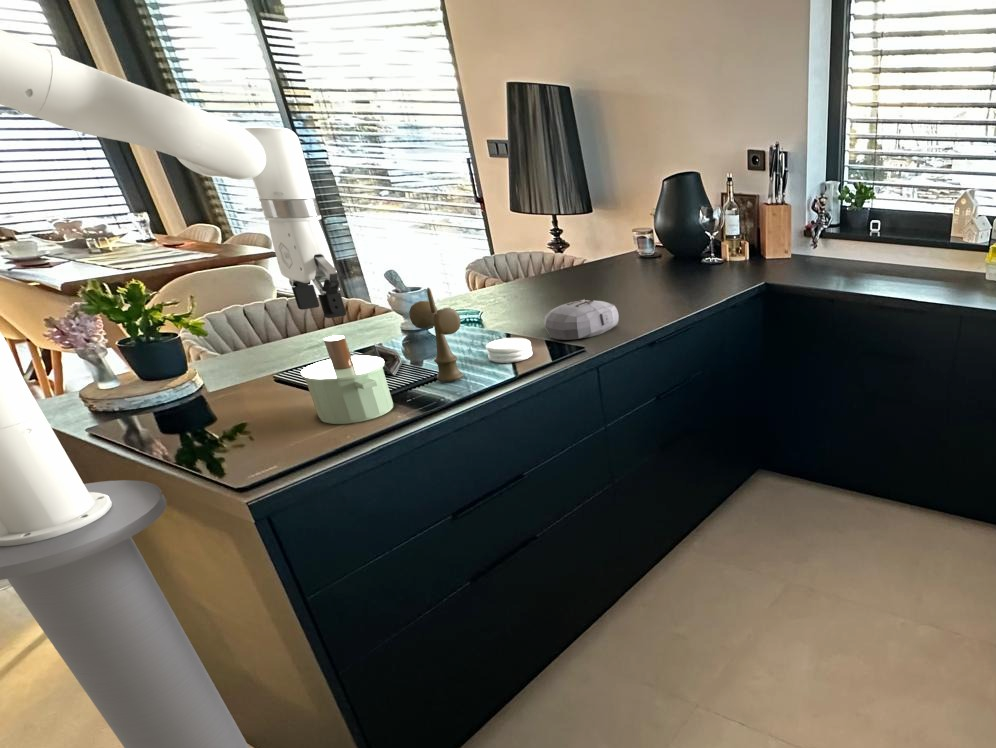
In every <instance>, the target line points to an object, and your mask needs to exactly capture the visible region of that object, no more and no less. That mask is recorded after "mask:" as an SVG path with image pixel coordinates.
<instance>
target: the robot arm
mask: <svg viewBox="0 0 996 748" xmlns="http://www.w3.org/2000/svg"><path fill="white" fill-rule="evenodd" d="M0 105H1V106H3V107H7V108H10V109H12V110H14V111H18V112H21V113H24V114H27V115H30V116H32V117H35V118H37V119H41V120H43V121H45V122H49V123H50V124H55V125H57V126H60V127H62V128H66V129H67V130H68V129H69V130H72V131H74V132H79V133H83V134H85V135H90V136H93V137H99V138H102V139H109V140H113V141H119V142H124V143H128V144H133V145H136V146H141V147H144V148H147V149H150V150H154V151H157V152H159V153H163V154H167V155H170V156H171V157H175V158H176V159H177V160H178V161H179V162H180V163H181V164H182V165H183V166H184V167H186V168H187V169H189V170H191V171H193V172H195V173H196V174H199V175H203V176H204V177H205V176H206V177H211V178H218V179H230V180H238V181H243V180H244V181H245V180H250V179H252V183H253V184H254V188H255V191H256V194H257V197H258V200H259V203H260V206H261V209H262V210H261V211H262V213H263V217H264V219H265V221H268V227H269V233H270V238H271V242H272V246H273V249H274V253H275V254H274V255H275V257H276V261H277V264H278V267H279V271H280V273H281V275H282V276H283V277H285V278H287V279H288V282H289V285H290V287H291V290H292V294H293V296H294V299H295V303H296V305H297V309H299V310H301V311H303V310H309V309H310V310H311V309H317V308H319V307H320V306H321V311H322V312H323V316H324V318H326V319H332V318H333V319H334V318H339V317H344V316H346V315H347V311H346V308H345V304H344V301H343V297H342V294H341V293H342V291H341V288H340V282H339V280H338V272H337V269H336V268H335V264H334V260H333V257H332V254H331V251H330V248H329V245H328V242H327V239H326V237H325V234H324V232H323V229H322V227H321V224H320V221H319V220H322V215H321V212H320V208H319V205H318V201H317V198H316V195H315V191H314V187H313V184H312V181H311V177H310V174H309V173H310V172H309V170H308V166H307V162H306V158H305V155H304V152H303V149H302V145H301V142H300V138H299V137H298V135H297V134H296V132H294V131H293V130H291V129H290V128H285V127H275V126H245V127H241V126H240V125H238V124H236V123H233V122H231V121H228V120H227V119H224V118H222V117H220V116H218V115H215V114H212V113H210V112H208V111H206V110H203V109H201V108H199V107H196V106H194V105H192V104H190V103H188V102H187V103H186V102H184V101H182V100H179V99H177V98H174V97H171V96H169V95H166V94H164V93H161V92H157V91H155V90H153V89H150V88H147V87H145V86H142V85H139V84H136V83H133V82H131V81H128V80H125V79H123V78H121V77H119V76H116V75H113V74H111V73H108V72H105V71H104V70H100V69H97V68H95V67H92V66H90V65H87V64H84V63H82V62H80V61H76V60H74V59H72V58H69V57H67V56H65V55H62V54H60V53H58V52H55V51H53V50H51V49H49V48H45V47H43V46H40V45H39V44H38V45H37V44H35V43H33V42H30V41H28V40H26V39H24V38H21V37H19V36H17V35H14V34H13V33H9V32H8V31H5V30H2V29H0ZM311 281H312V282H313V284H311ZM322 283H323V284H322ZM315 288H316V289H317V291H318V292H319V294H317V292H316V289H315ZM84 484H85V483H84V482H83V480H82V478H81V477H80V475H79V473H78V471H77V470H76V468H75V466H74V465H73V463H72V461H71V459H70V457H69V455H68V454H67V452H66V451H65V449H64V447H63V446H62V444H61V442H60V440H59V437H57V434H56V433H55V431H54V430H53V428H52V426H51V424H50V423H49V421H48V420H47V417H46V416H45V414H44V412H43V411H42V409H41V407H40V406H39V404H38V402H37V401H36V398H35V397H34V395H33V394H32V392H31V390H30V388H29V386H28V384H27V382H26V381H25V379H24V377H23V375H22V372H21V371H20V368H19V366H18V364H17V361H16V359H15V357H14V354H13V352H12V350H11V348H10V345H9V344H8V342H7V340H6V339H5V337H4V336H3V335H2V333H1V332H0V546H15V545H23V544H29V543H34V542H38V541H42V540H46V539H50V538H53V537H57V536H60V535H63V534H66V533H69V532H72V531H74V530H77V529H79V528H81V527H84V526H86V525H88V524H90V523H92V522H94V521H96V520H97V519H99V518H100V517H102V516H103V515H105V514H106V513H107V512H108V511H109V510H110V508H111V507H112V502H111V500H110V499H109V497H108V496H107V495H105V494H101V493H95V492H88V490H87V489H86V487H85V485H84Z"/></svg>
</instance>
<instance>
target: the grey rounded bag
mask: <svg viewBox="0 0 996 748" xmlns="http://www.w3.org/2000/svg"><path fill="white" fill-rule="evenodd" d="M619 319H620V318H619V312H618V309H617V307H616V306H615V305H614V304H613V303H610V302H606V301H603V300H594V299H591V300H588V299H587V300H585V298H582V299H576V300H575V301H570V302H567V303H564V304H561V305H558V306H556V307H554V308H552V309H551V310H549V311H548V312H547V314H546V315H545V316H544V321H543V324H544V327H545V329H546V331H547V333H548V336H549V337H550V338H552V339H555V340H563V341H564V340H565V341H568V340H579V339H586V338H591V337H596V336H599V335H601V334H604V333H606V332H608V331H610V330H611V329H613V328H615V327H616V326H617V325H618V323H619Z"/></svg>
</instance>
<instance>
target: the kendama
mask: <svg viewBox="0 0 996 748" xmlns="http://www.w3.org/2000/svg"><path fill="white" fill-rule="evenodd" d="M426 294H427V298H428V300H419V301H417V302H414V303H413V304H412V305H411V306H410V308H409V311H408V313H409V314H408V315H409V320H410V323H411V324H412V325H413V326H414V327H415V328H417V329H420V330H428V329H431V328H434V333H435V342H436V343H435V344H436V356H435V357H434V359H433V362H434V363H435V364H436V365H437V369H438V374H437V375H436V379H437V381H439V382H443V383H450V382H451V383H452V382H456V381H459V380H461V379H462V378H464V373H463V372H462V371H461V370H459V368H458V365H457V361H458V357H457V356H456V355H455V354H453V351H452V350H451V348H450V345H449V343H448V341H447V337H446V336H445V335H448V336H449V335H453V334H455V333H457V332H458V331H459V330H460V327H461V317H460V314H459V313H458V312H457V311H456V310H455V309H454V308H451V307H443V308H440V309H438V308H437V306H436V303H435V300H434V296H433V293H432V290H431V288H430V287H427V288H426Z"/></svg>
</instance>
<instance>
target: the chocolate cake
mask: <svg viewBox="0 0 996 748" xmlns="http://www.w3.org/2000/svg"><path fill="white" fill-rule="evenodd" d="M373 345H374V348H373V349H371V350H368V351H364V352H362V353H359V354H356V355H355V356H374V357H378V358H381V359H383V360H384V362H385V365H384V367H383V371H384V372H386V373H387V374H389V375H393V376H396V374H397V372H398V371H399V369H400V367H401V365H402V364H403V360H402V357H401V356H400V354H399V352H398V351H397V350H396V349H394V348H390V347H387V346H385V345H381V344H379V343H376V342H374V343H373Z"/></svg>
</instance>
